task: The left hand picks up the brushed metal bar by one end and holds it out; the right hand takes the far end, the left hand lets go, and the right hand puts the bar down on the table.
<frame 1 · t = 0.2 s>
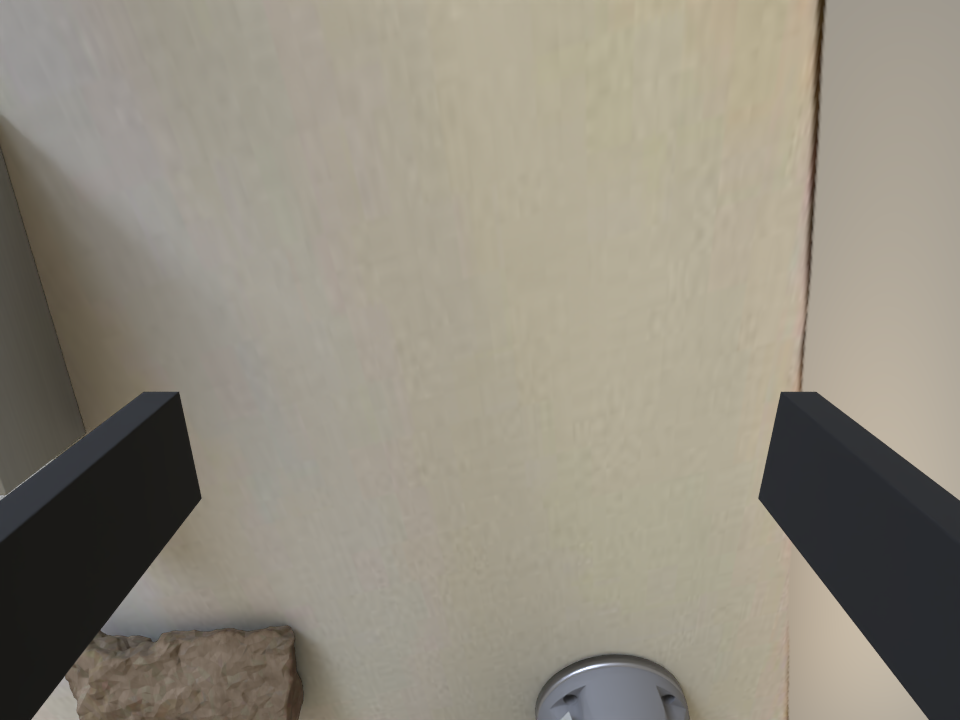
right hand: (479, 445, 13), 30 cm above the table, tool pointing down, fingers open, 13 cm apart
bar: (10, 285, 42), on the table
stone: (201, 664, 56), on the table
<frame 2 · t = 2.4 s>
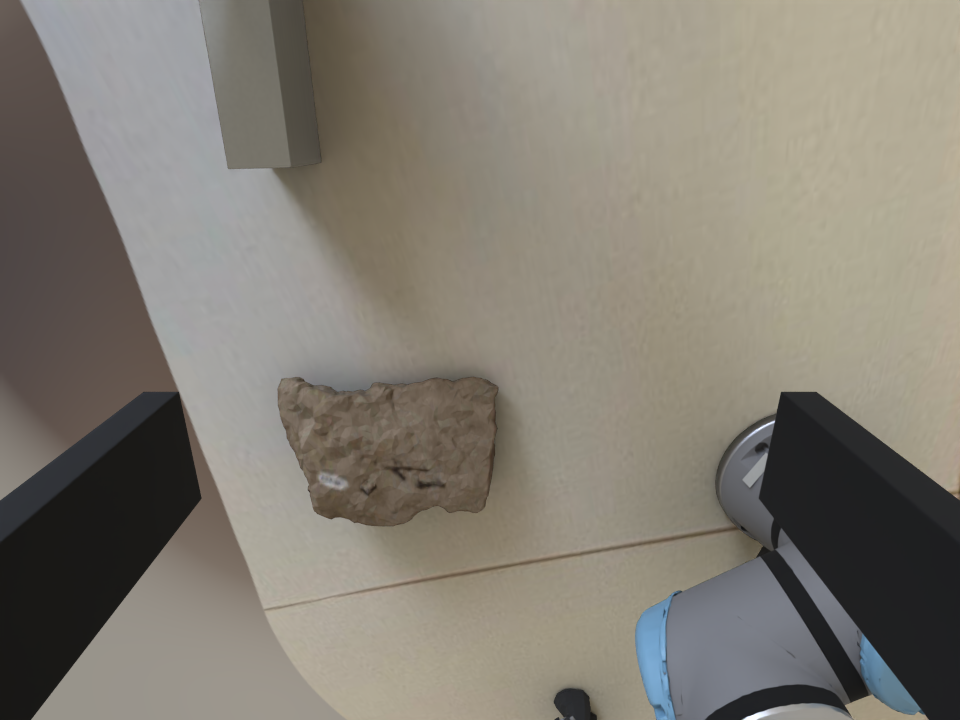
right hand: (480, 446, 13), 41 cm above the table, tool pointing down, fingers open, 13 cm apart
robot: (576, 708, 73), on the table
stone: (397, 430, 58), on the table
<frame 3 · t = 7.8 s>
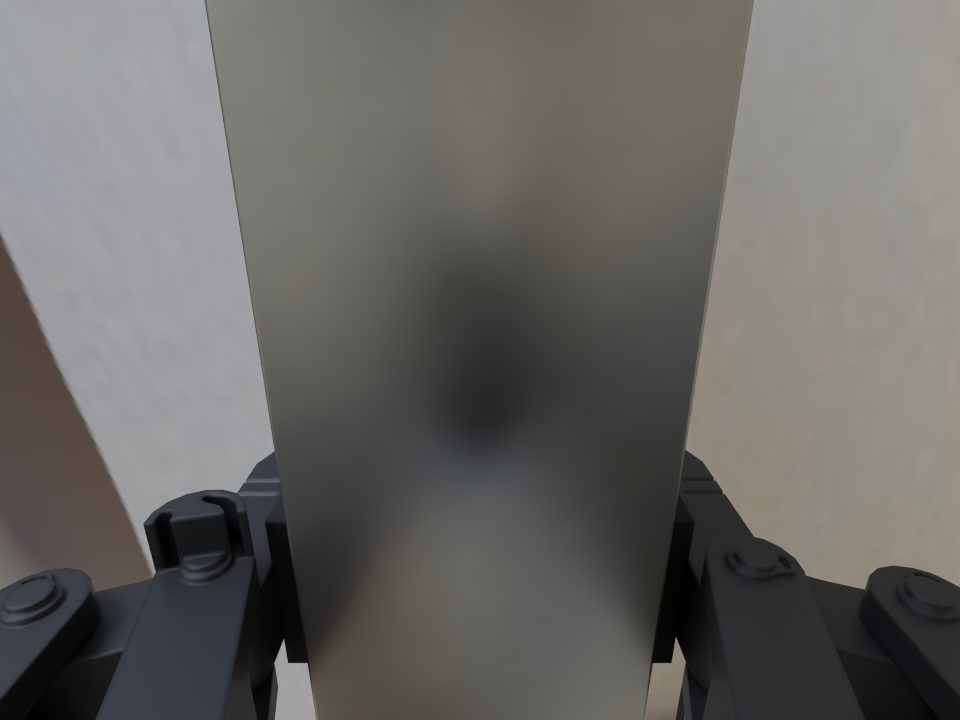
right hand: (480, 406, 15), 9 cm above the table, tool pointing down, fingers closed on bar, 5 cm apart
bar: (478, 26, 12), point 8 cm above the table, touching right hand, left hand
when the left hand's fingers open (12 cm above the table, at t = 8.5 s): bar stays where it is, held by the right hand.
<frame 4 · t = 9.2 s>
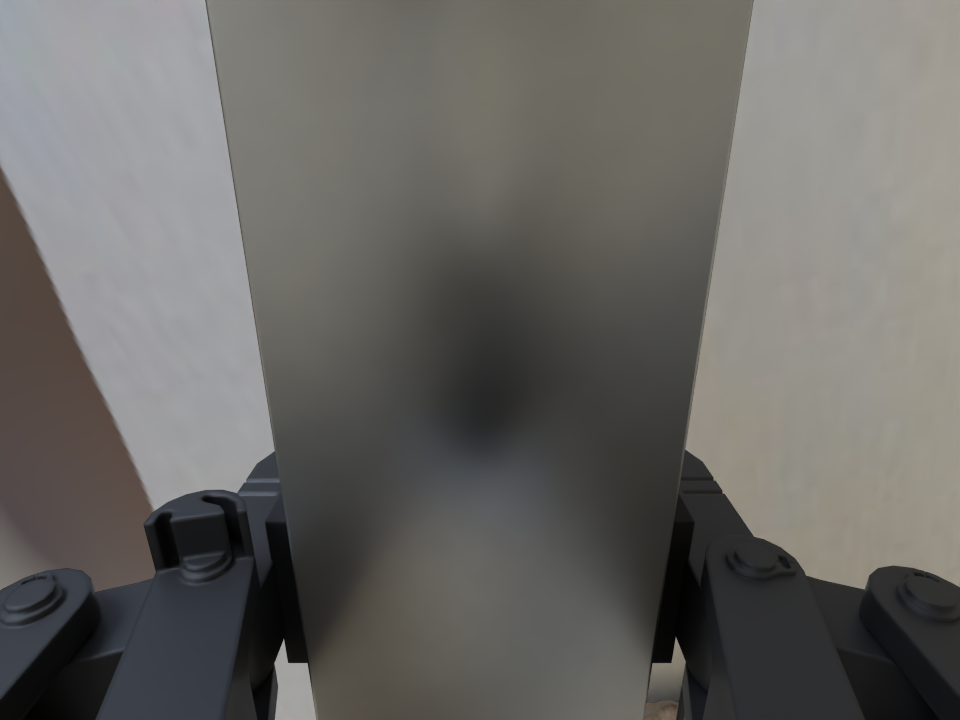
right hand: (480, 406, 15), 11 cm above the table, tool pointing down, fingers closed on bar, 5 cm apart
bar: (479, 26, 12), point 10 cm above the table, touching right hand
when the right hand's fingers open (2 cm above the table, at t = 13.9 s): bar stays where it is, on the table.
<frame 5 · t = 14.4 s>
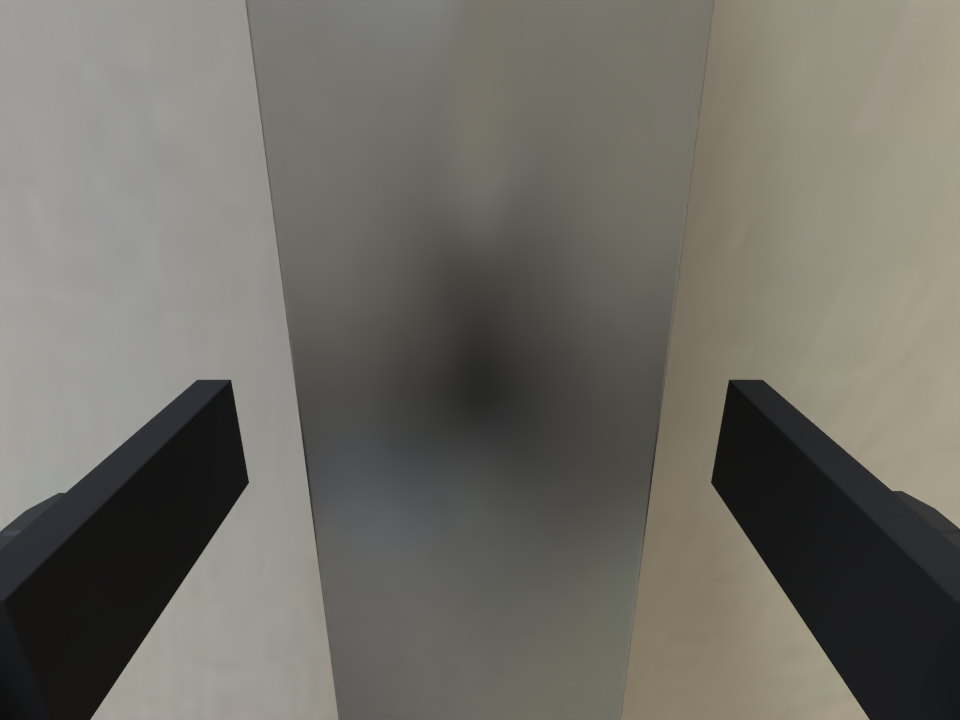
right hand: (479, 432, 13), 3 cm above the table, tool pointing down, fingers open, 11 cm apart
bar: (479, 39, 13), on the table
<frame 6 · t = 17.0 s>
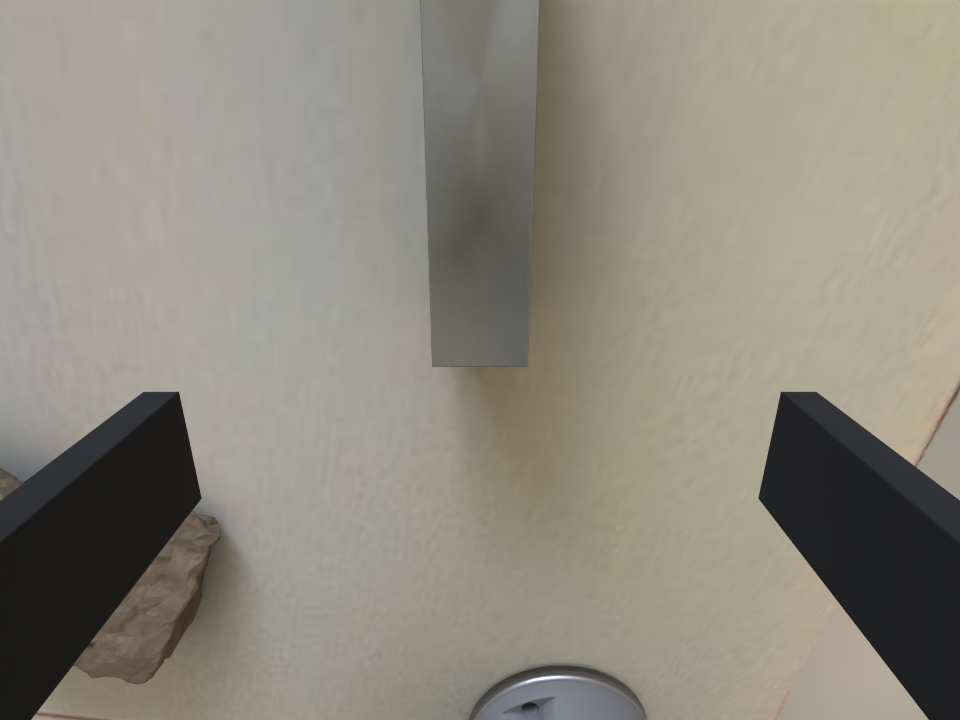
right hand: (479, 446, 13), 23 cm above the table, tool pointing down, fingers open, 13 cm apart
bar: (479, 95, 31), on the table
stone: (73, 535, 41), on the table
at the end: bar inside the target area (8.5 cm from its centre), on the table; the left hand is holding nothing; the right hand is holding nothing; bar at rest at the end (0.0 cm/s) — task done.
